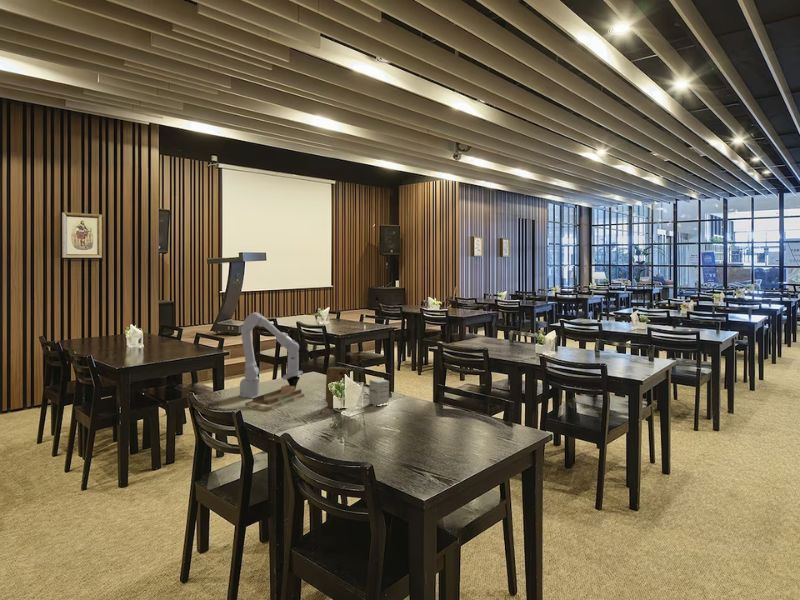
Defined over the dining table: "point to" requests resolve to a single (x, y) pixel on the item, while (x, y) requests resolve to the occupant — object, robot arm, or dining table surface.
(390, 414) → the dining table surface
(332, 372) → the block
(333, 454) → the dining table surface
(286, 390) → the block terracotta
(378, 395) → the supplement box
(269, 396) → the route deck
